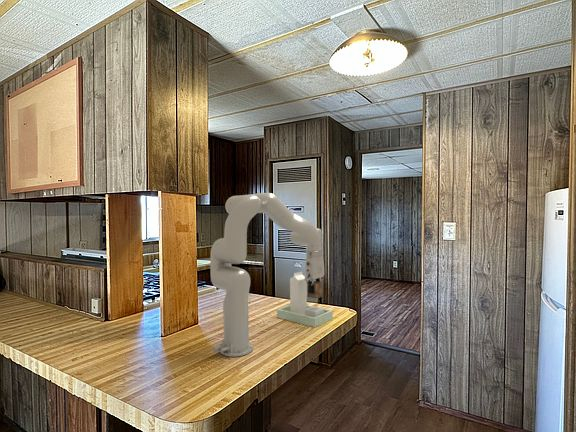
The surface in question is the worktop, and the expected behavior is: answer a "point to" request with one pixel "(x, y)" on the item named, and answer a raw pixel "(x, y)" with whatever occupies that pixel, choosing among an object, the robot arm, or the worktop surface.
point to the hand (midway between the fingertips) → (314, 291)
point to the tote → (304, 316)
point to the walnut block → (316, 290)
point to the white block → (314, 311)
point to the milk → (298, 294)
